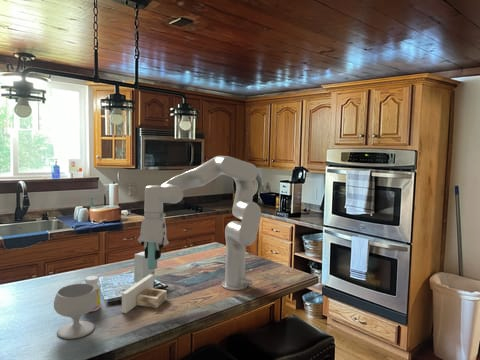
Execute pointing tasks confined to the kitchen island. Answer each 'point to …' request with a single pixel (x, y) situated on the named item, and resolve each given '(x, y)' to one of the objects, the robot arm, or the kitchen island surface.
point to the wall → (135, 292)
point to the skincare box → (141, 267)
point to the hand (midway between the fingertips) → (152, 257)
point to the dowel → (151, 256)
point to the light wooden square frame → (151, 297)
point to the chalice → (75, 309)
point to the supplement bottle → (93, 281)
